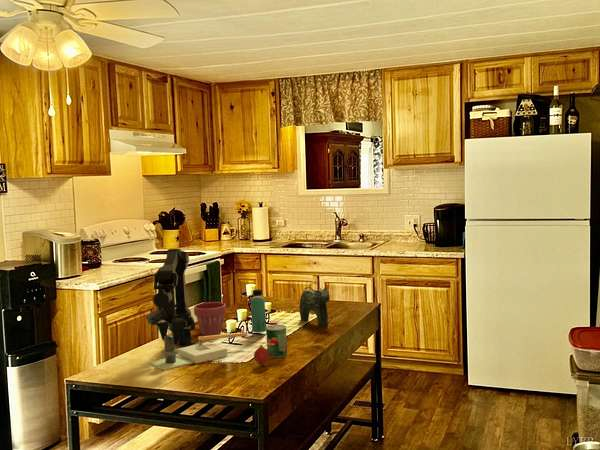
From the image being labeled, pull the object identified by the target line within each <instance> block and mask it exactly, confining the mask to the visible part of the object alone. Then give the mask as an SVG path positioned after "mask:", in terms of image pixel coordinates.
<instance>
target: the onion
mask: <svg viewBox="0 0 600 450" xmlns="http://www.w3.org/2000/svg"><path fill="white" fill-rule="evenodd" d="M270 358H271V357H270V356H269V352H268V350H267V347H264V346H263V345H262V344H260V345H259V347H258V348H257V349H256V350H255V351H254V352H253V359H254V362H255V363H257V365H259V366H260V367H264V366H265V365H266V364H267V363H268V362H269V360H270Z"/></svg>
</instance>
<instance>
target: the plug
mask: <svg viewBox="0 0 600 450" xmlns="http://www.w3.org/2000/svg"><path fill="white" fill-rule="evenodd" d="M178 349H179V348H177V347H176V345H174V343H173V338H172V334H167V336H164V349H162V350H161V354H162V356H164V359H165V363H175V362H176V356H178Z"/></svg>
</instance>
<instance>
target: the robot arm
mask: <svg viewBox="0 0 600 450" xmlns="http://www.w3.org/2000/svg"><path fill="white" fill-rule="evenodd" d="M189 263H190V256H189V254H188V252H187V251H184V250H181V248H169V249H167V251H166V258H165V260H164V263H163V266H160V267H159V268H158V269H157V271H156V272H155V273H154V274H155V275H154V282H153V283H154V284H153V290H157V293H156V294H155V295H154V296H153V304H154V305H155V307H156V310H154V311H152V312H150V313H148V314H147V315H145V319H146V321H147V323H148V325H150V326H155V327H157V328H158V331H159V334H160V338H161V340H162V341H164V336H167V335H168V331H170V332H171V335H172V338H173V343H174V345H175V346H176V345H177V346H179V347H184V346H185V347H186V346H191V345H195V341H193V340H192V333H191V332H192V331H193V330H196V324H195V323H196V322H195V319H194V317H193V316H192V311H191V309H190V308H189V306H188V304H187V293H186V292H187V291H186V289H187V288H186V275H185V273H186V270H187V269H188V266H189Z"/></svg>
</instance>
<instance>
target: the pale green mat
mask: <svg viewBox="0 0 600 450" xmlns="http://www.w3.org/2000/svg"><path fill="white" fill-rule="evenodd" d="M148 364H149V365H151V366H153V367H156V368H159V369H160V370H161V371H167V370H171V369H175V368H180V367H184V366H189V365H191V364H193V362H191V361H189V360H186V359H184V358H182V357H179V356H178V355H176V362H175V363H165V358H162V359H161V358H160V359H158V360H152V361H149V363H148Z"/></svg>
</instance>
